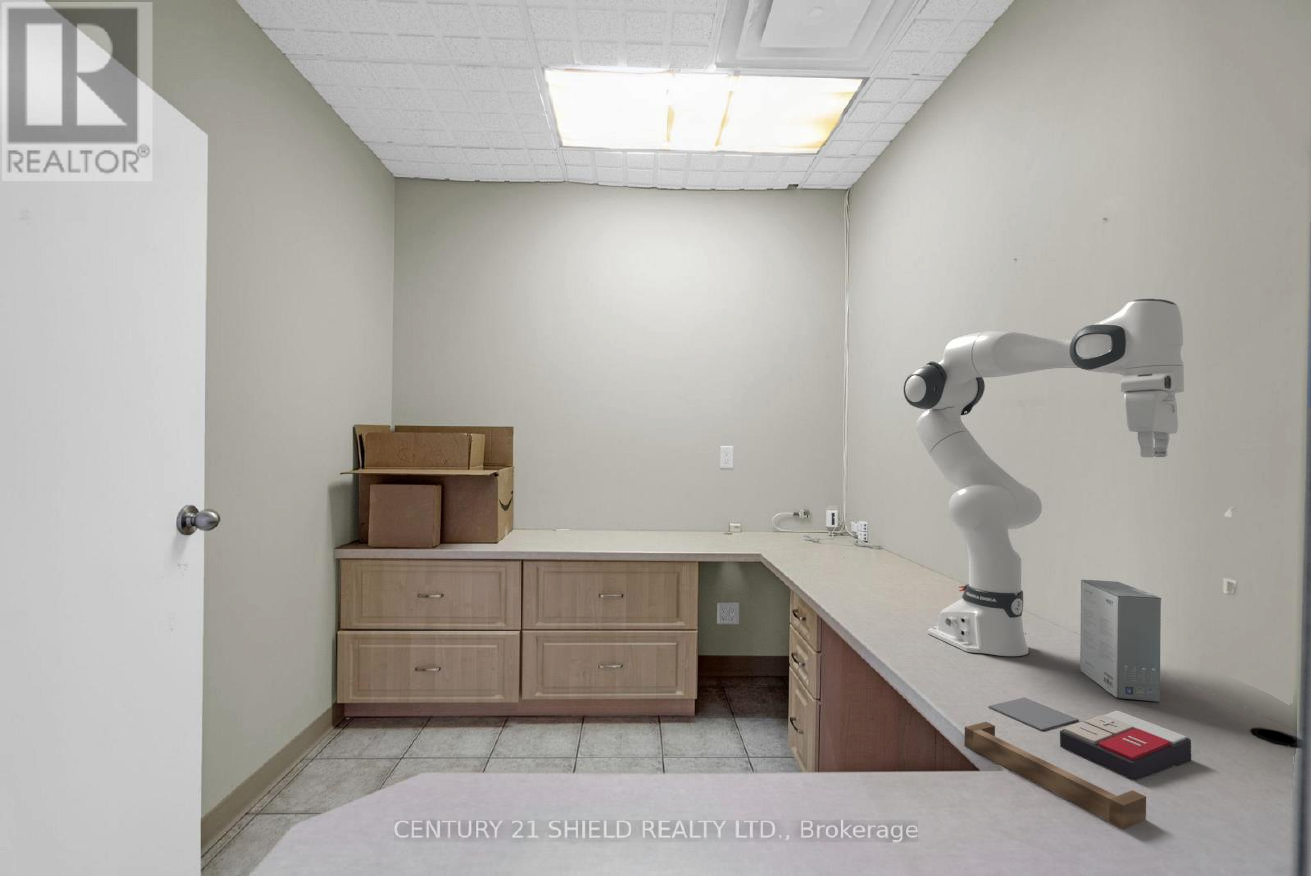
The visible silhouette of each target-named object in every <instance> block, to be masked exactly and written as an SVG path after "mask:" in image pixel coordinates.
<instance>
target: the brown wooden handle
mask: <svg viewBox="0 0 1311 876" xmlns="http://www.w3.org/2000/svg"><path fill="white" fill-rule="evenodd" d="M963 745H964V747H966V748H968V749H970V750H972V751H974V752H976V753H977V754H979V755H981V756H984V757H985V758H987V759H989V760H991V761H992V762H995V763H997V764H999V765H1001V766H1002V767H1004V768H1006V769H1008V770H1009V771H1012V772H1013V773H1016V774H1018V775H1020V776H1022V777H1023V778H1025V779H1027V780H1029V781H1030V782H1033V783H1034V784H1037V785H1039V787H1040V786H1041V787H1042V788H1043V789H1046V790H1048V791H1050V792H1052V793H1054V794H1056V795H1057V796H1060V797H1061V798H1063V799H1065V800H1067V801H1068V802H1070V803H1072V804H1075V805H1076V806H1079V807H1081V808H1083V809H1084V810H1086V811H1088V812H1089V813H1092V814H1094V815H1096V816H1097V817H1099V818H1101V819H1104V820H1105V821H1107V822H1109V823H1111V824H1112V825H1115V826H1117V827H1118V828H1120V829H1122V830H1125V829H1127V828H1129V827H1131V826H1134V825H1136V824H1138V823H1142V822H1143V821H1144V822H1145V820H1147V796H1146V795H1144V794H1142V793H1140V792H1138V791H1136V790H1133V789H1132V790H1130V791H1126V792H1124V793H1122V794H1118V795H1116V794H1114V793H1112V792H1110V791H1108V790H1106V789H1103V788H1101V787H1099V786H1098V785H1095V784H1093V783H1092V782H1089V781H1087V780H1085V779H1083V778H1082V777H1079V776H1078V775H1075V774H1073V773H1071V772H1069V771H1067V770H1065V769H1062V768H1061V767H1059V766H1057V765H1054V764H1052V763H1050V762H1048V761H1046V760H1044V759H1042V758H1040V757H1038V756H1036V755H1034V754H1032V753H1030V752H1028V751H1026V750H1023V749H1022V748H1019V747H1017V746H1015V745H1014V744H1011V743H1009V742H1007V741H1005V740H1004V739H1001V738H999V737H997V736H996V725H994V724H992V723H990V722H988V721H983V722H979V723H975V724H972V725H971V724H970V725H967V726H964V744H963Z"/></svg>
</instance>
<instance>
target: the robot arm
mask: <svg viewBox="0 0 1311 876" xmlns="http://www.w3.org/2000/svg"><path fill="white" fill-rule="evenodd" d="M1183 345H1184V332H1183V320H1182V315H1181V311H1180V308H1179V306H1178V304H1177V303H1175V302H1173V301H1170V300H1168V299H1159V298H1158V299H1155V298H1140V299H1134V300H1131V301H1130V300H1129V302H1127V303H1125V304H1124V306H1122V308H1121V309H1120V310H1118V311H1117V312H1116V313H1114V314H1112V315H1110V316H1109V317H1107V318H1105V319H1103V320H1100V321H1098V322H1096V323H1094V324H1089V325H1087V326H1084V327H1082V328H1081V329H1079V330H1078V331H1077V332H1076V333H1075V334H1074V336H1073V337H1072V338H1071V339H1053V338H1047V337H1042V336H1037V335H1033V334H1032V335H1031V334H1028V333H1027V334H1026V333H1021V332H1017V331H1009V330H1007V331H1006V330H988V331H980V332H973V333H969V334H965V335H961V336H959V337H956V338H954V339H952V340H950V341H949V342H948V343H947V345H946V346H945V347H944V350H943V356H942V359H941V361H940V362H936V361H929V362H927V363H926V364H924V366H921V367H920V368H918V369H916V370H914V371H912V372H911V373H910V374H908V375H907V376H906V379H905V381H904V384H903V395H904V396H903V397H904V398H905V400H906V402H907V403H908V404H909V405H910V406H912V407H914V408H917V409H921V410H925V411H924V412H923V413H922V414H921V415H919V417H918V419H917V421H916V431H917V432H918V435H919V438H920V440H921V442H922V444H923V446H924V447H925V449H926V451H927V452H928V454H929V455H930V457H931V459H932V460H933V462H934V463H935V464H936V465H937V467H938V469H939V470H940V472H941V473H942V474H943V477H945V479H946V480H947V481H948V482H949V483H951V484H953V485H955V486H957V487H959V488H960V489H959V490H957V491H955V492H954V493H953V494H952V495H951V497H950V498H949V501H948V506H947V507H948V508H947V509H948V514H949V517H950V519H951V521H952V522H953V523H954V524H955V525H956V526H957V527H958V529H960V531H961V534H962V536H963V538H964V539H963V540H964V541H965V544H966V548H967V549H966V550H967V555H968V556H967V558H968V583H967V584H965V585H961V586H958V588H960V589H958V591H959V592H963V594H962V596H961V598H960V599H958V600H957V601H955V602H954V603H953V602H952V603H951V604H949V605H948V606H946V607H944V608H943V609H942V610H941V611H940V614H939V615H938V619H937V620H938V621H937V625H934V626H931V627H929V628H928V629H927V634H928V635H931V637H932V636H933V637H935V638H936V639H939V640H941V641H942V642H945V643H948V644H949V645H952V646H953V647H956V648H958V649H960V650H962V651H964V652H967V653H975V654H987V655H994V656H999V657H1001V656H1002V657H1020V656H1025V655H1027V654H1029V647H1028V645H1027V641H1026V637H1025V631H1024V624H1023V610H1024V591H1023V590H1022V558H1021V556H1020V554H1019V553H1018V552H1017V551H1016V550H1015V549H1014V548H1013V546H1012V543H1011V539H1010V536H1009V530H1017V529H1021V528H1022V529H1023V528H1024V527H1026V526H1029V525H1031V524H1033V523H1035V522H1036V521H1037V520H1038V519H1039V517H1040V516H1041V513H1042V508H1043V505H1042V500H1041V497H1040V496H1039V494H1038V493H1037V492H1036V491H1034V490H1033V489H1031V488H1029V487H1027V486H1025V485H1023V484H1022V483H1020V482H1019V481H1018V480H1017V479H1015V478H1014V477H1012V476H1011V475H1010V474H1009V473H1008V472H1007V471H1005V470H1004V469H1003V468H1002V467H1001V466H1000V465H998V463H996V461H994V460H993V459H992V458H991V457H990V456H989V455H988V454H987V453H986V451H985V450H984V449H983V448H982V446H981V445H980V443H979V442H978V441H977V440H976V439H975V437H974V436H973V434H972V433H971V432H970V431H969V430H968V428H967V427H966V425H965V424H964V423H963V421H962V419H961V417H962V416H966V415H968V414H970V413H971V411H972V410H973V408H974V406H975V407H976V405H977V404H978V403H979V401H980V400H982V397H983V396H984V393H985V388H986V387H985V380H984V378H999V377H1007V376H1014V375H1021V374H1025V373H1033V372H1038V371H1046V370H1052V369H1053V370H1054V369H1073V368H1074V369H1075V368H1076V369H1078V368H1079V369H1081V370H1085V371H1089V372H1093V373H1094V372H1095V373H1106V374H1116V375H1117V374H1119V375H1121V376H1123V377H1122V379H1121V380H1120V383H1119V390H1120V392H1121V393H1123V401H1124V412H1125V413H1124V414H1125V421H1126V427H1127V429H1128V431H1129V432H1132V433H1137V441H1138V445H1139V448H1140V449H1139V450H1140V457H1142V458H1154V457H1155V458H1167V456H1168V448H1169V444H1170V435H1171V434H1177V432H1178V429H1179V424H1178V423H1179V422H1178V407H1177V399H1176V394H1179V393H1182V392H1185V382H1184V381H1185V380H1184V379H1185V378H1184V377H1185V376H1184V374H1185V372H1184V361H1183V360H1182V356H1181V352H1182V347H1183Z"/></svg>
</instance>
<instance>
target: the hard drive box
mask: <svg viewBox="0 0 1311 876" xmlns="http://www.w3.org/2000/svg"><path fill="white" fill-rule="evenodd" d="M1080 590H1081V591H1080V652H1079V654H1080V657H1079V658H1080V661H1079V662H1080V665H1079V666H1080V669H1079V670H1080V672H1082V673H1083V674H1085V675H1086V676H1087V677H1088V678H1089V679H1091V680H1092V681H1093V682H1095V683H1096V684H1097V685H1099V686H1100V687H1102V689H1104V691H1106V692H1108V693H1109V694H1111V695H1112V696H1113V697H1114V698H1118V699H1124V700H1125V699H1126V700H1127V699H1128V700H1135V701H1136V700H1137V701H1147V702H1160V701H1161V620H1162V619H1161V613H1162V612H1161V611H1162V610H1161V609H1162V607H1161V606H1162V598H1161V597H1160V596H1157V595H1154V594H1152V593H1149V592H1146V591H1144V590H1142V589H1139V588H1136V587H1134V586H1130V585H1129V584H1125V583H1123V582H1121V581H1113V580H1099V579H1098V580H1097V579H1096V580H1095V579H1081V580H1080Z"/></svg>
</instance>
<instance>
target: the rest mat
mask: <svg viewBox="0 0 1311 876" xmlns="http://www.w3.org/2000/svg"><path fill="white" fill-rule="evenodd" d="M988 709H991V710H993V711H995V712H997V713H999V714H1002V715H1004V716H1006V717H1009V718H1011V719H1014V720H1016V721H1017V722H1020V723H1022V724H1024V725H1027V726H1029V727H1031V728H1034V729H1036V730H1038V731H1040V732H1043V731H1047V730H1051V729H1054V728H1058V727H1062V726H1065V725H1069V724H1072V723H1075V722H1079V718H1077V717H1074V716H1072V715H1070V714H1067V713H1064V712H1062V711H1059V710H1056V709H1054V708H1052V707H1051V706H1047V705H1044V704H1042V703H1039V702H1037V701H1035V700H1032V699H1029V698H1028V697H1020V698H1015V699H1012V700H1007V701H1003V702H999V703H996V704H991V705H988Z"/></svg>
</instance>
